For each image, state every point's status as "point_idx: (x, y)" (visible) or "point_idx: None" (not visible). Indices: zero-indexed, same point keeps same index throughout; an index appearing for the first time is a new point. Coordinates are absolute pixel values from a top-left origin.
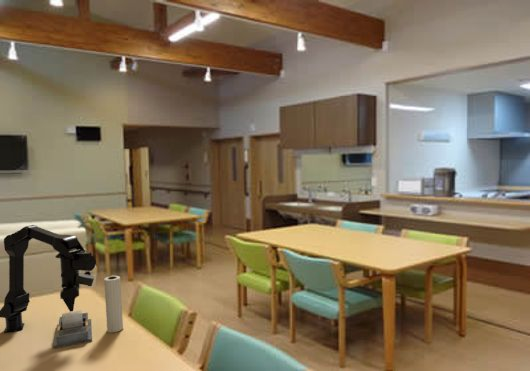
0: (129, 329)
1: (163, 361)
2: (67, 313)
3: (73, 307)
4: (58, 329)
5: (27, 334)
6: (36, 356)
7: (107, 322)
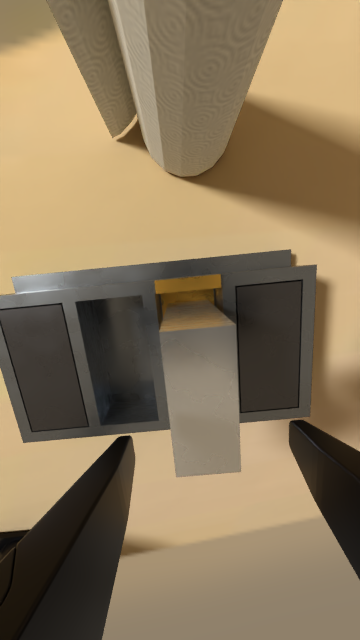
0: None
1: None
2: (190, 440)
3: (351, 449)
4: None
5: None
6: None
7: (215, 139)
